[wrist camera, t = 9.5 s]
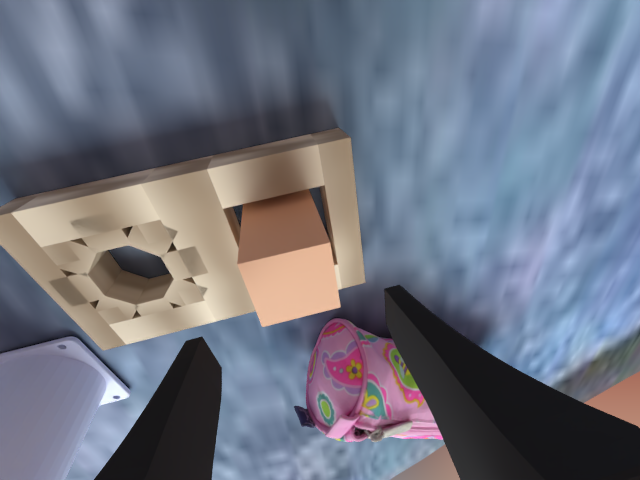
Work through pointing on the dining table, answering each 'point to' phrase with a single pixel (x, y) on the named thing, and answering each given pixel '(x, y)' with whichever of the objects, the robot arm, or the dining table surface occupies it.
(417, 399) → the pencil case
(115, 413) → the dining table surface
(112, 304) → the socket plate
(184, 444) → the robot arm
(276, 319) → the peg
